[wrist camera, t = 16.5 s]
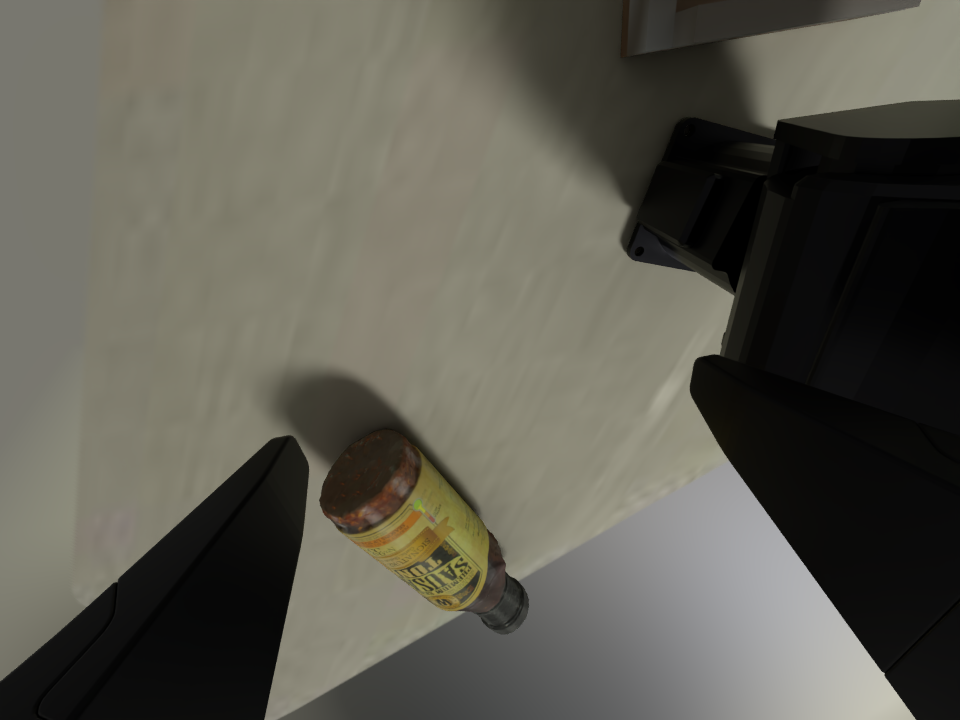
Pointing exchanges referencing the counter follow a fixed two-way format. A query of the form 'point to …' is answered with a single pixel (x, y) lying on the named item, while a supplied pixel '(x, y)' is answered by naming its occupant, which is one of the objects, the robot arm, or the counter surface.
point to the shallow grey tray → (732, 19)
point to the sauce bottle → (421, 529)
